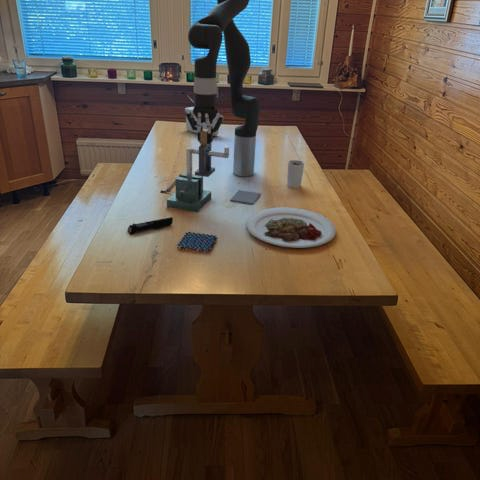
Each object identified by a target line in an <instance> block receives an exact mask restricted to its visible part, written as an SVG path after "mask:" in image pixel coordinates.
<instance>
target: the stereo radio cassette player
mask: <svg viewBox="0 0 480 480" xmlns="http://www.w3.org/2000/svg"><path fill="white" fill-rule="evenodd" d="M187 97H188V98H189V100H190V101H191V102H192V103H194V99H192V98H190V96H189V95H187ZM193 109H194V106H190V107H185V108H184V112H185V129H186V131H187V132H191V133H194V134H197V135H198V132H197V131H196V130H193V129H192V127H191V125H190V123H189V121H188V118H187V116H186V114H187V113H188V112H192V111H193ZM218 114H220V113H219V112H218ZM216 118H217V117H215V118H214V120H213V128H214V126H215V124H216V123H217V120H216ZM194 119H195V121H196V123H197V120H198V119H197V118H196V116H195V115H194ZM203 129H207V126H206V123H205V122H204V124H203ZM219 130H220V128H219V129H218V131H216V132H213V137H216V136H217V135H218V134H219Z"/></svg>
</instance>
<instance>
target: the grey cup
mask: <svg viewBox="0 0 480 480" xmlns="http://www.w3.org/2000/svg"><path fill="white" fill-rule="evenodd" d="M304 166H305V162H304V161H302V160H299V159H292V160H288V161H287V178H286V179H287V181H286V183H287V184H286V185H287V187H288V188H292V189H299V188H301V185H302V181H303V180H302V179H303V175H304V174H303V173H304V168H305V167H304ZM298 187H299V188H298Z"/></svg>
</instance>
